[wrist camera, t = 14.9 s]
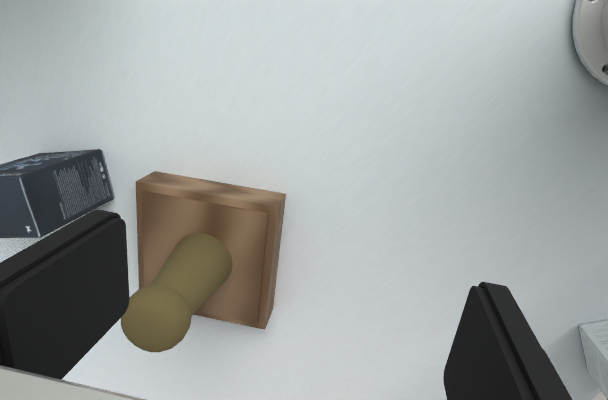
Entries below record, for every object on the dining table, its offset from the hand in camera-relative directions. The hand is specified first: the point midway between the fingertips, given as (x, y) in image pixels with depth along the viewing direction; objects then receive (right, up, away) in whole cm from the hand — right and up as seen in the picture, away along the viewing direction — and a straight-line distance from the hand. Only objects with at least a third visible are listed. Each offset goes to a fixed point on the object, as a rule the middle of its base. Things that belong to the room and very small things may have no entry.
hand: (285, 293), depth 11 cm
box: (-24, +5, +33) cm, 41 cm away
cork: (-9, -3, +29) cm, 31 cm away
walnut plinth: (-9, -2, +33) cm, 34 cm away
